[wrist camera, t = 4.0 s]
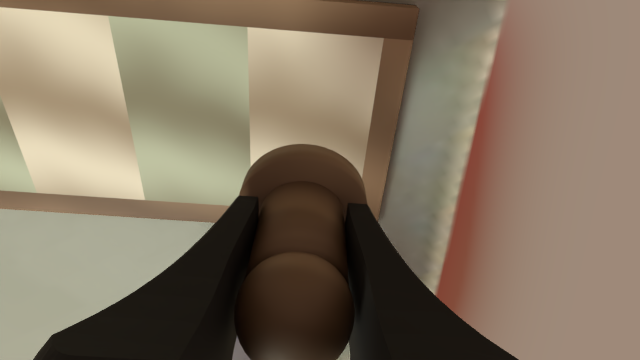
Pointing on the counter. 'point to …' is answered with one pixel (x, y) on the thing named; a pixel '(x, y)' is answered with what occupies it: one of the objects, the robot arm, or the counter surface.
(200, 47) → the game board
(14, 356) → the counter surface
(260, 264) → the pawn
